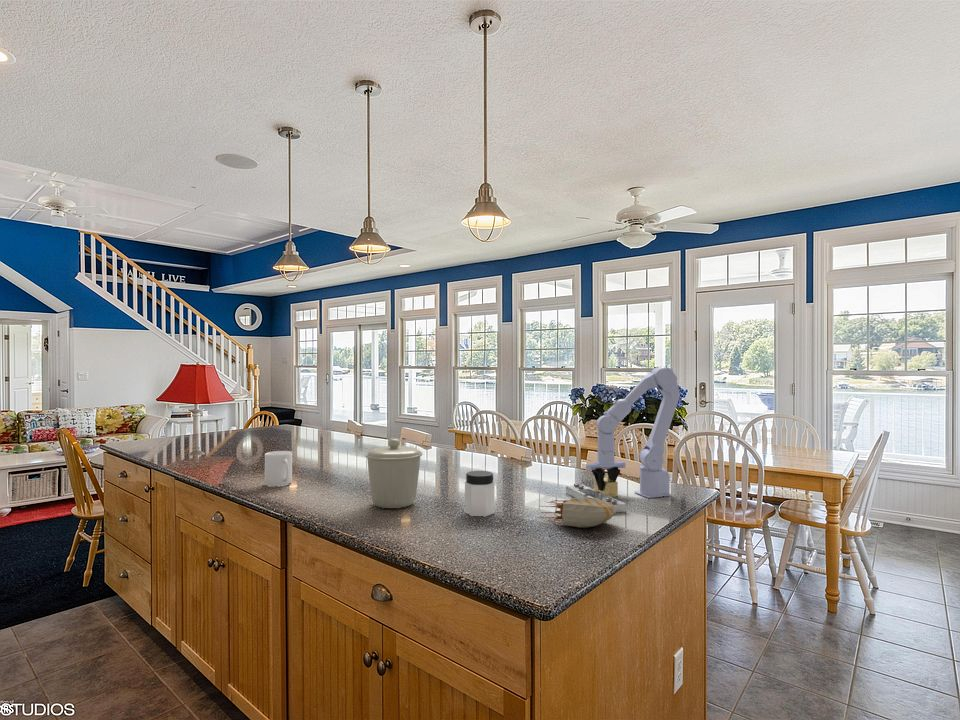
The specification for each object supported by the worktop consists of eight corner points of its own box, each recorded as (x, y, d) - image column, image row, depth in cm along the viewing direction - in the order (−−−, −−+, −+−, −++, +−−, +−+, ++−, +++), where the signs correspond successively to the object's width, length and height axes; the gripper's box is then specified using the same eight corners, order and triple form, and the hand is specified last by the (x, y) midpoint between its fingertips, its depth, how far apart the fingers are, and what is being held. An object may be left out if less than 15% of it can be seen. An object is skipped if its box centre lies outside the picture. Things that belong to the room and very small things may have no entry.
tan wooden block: (603, 490, 187) (603, 476, 187) (617, 496, 179) (617, 482, 179) (594, 491, 186) (594, 477, 186) (608, 497, 178) (608, 482, 178)
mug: (279, 480, 201) (280, 450, 201) (302, 484, 195) (302, 452, 196) (258, 485, 193) (259, 453, 193) (281, 489, 187) (281, 456, 187)
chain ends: (582, 491, 185) (582, 482, 185) (626, 511, 161) (626, 501, 161) (565, 493, 183) (565, 483, 183) (607, 513, 158) (607, 502, 158)
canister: (353, 505, 167) (353, 438, 167) (398, 494, 180) (398, 433, 180) (388, 516, 155) (388, 445, 155) (434, 504, 168) (434, 438, 168)
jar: (498, 515, 157) (498, 475, 157) (473, 518, 153) (473, 477, 153) (485, 507, 165) (485, 469, 165) (461, 510, 161) (461, 471, 161)
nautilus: (532, 529, 146) (547, 517, 159) (611, 534, 137) (619, 521, 151) (531, 500, 146) (546, 490, 160) (609, 503, 138) (618, 493, 151)
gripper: (617, 447, 189) (617, 485, 189) (581, 449, 184) (581, 488, 184) (629, 450, 182) (628, 490, 182) (592, 453, 177) (592, 493, 177)
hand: (605, 489), depth 182 cm, fingers closed on tan wooden block, 3 cm apart
